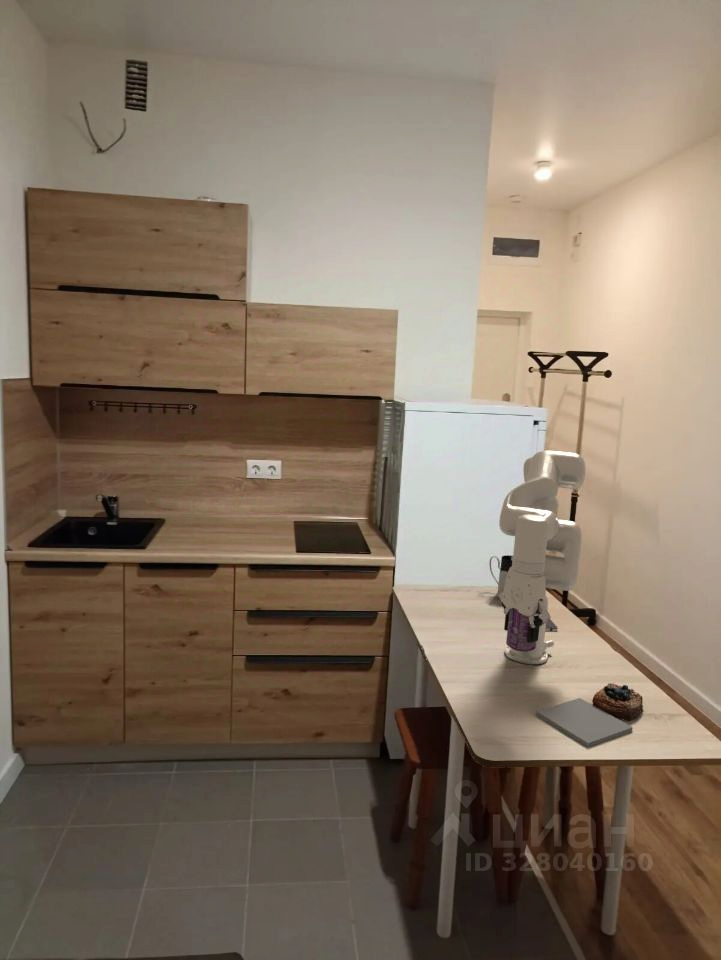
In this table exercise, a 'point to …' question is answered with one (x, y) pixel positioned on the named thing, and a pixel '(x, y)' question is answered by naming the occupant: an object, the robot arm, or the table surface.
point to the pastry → (619, 701)
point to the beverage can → (519, 632)
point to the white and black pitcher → (502, 572)
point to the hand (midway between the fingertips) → (520, 634)
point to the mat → (584, 722)
